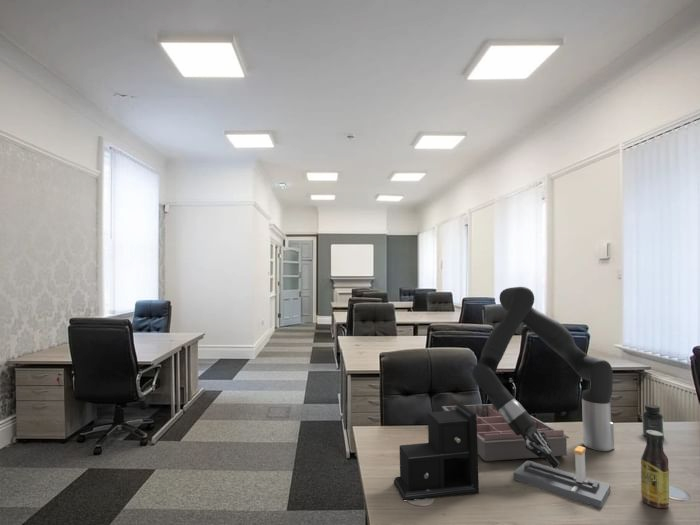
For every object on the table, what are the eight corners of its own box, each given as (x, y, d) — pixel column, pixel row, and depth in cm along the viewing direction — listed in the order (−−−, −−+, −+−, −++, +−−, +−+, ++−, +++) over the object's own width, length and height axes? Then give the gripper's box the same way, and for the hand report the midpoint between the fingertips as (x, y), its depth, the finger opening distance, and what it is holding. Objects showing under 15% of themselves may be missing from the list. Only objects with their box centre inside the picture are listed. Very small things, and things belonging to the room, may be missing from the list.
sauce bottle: (636, 498, 115) (633, 427, 116) (656, 497, 115) (653, 427, 116) (655, 511, 108) (652, 436, 109) (676, 509, 109) (673, 435, 110)
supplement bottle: (668, 438, 158) (667, 408, 159) (654, 440, 156) (653, 409, 157) (652, 432, 165) (650, 403, 165) (638, 433, 163) (637, 404, 164)
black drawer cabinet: (403, 502, 113) (402, 418, 114) (393, 483, 124) (392, 406, 125) (480, 494, 117) (478, 413, 118) (463, 477, 128) (462, 402, 129)
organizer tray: (509, 421, 179) (509, 398, 180) (570, 460, 140) (569, 431, 140) (441, 424, 175) (441, 401, 175) (484, 466, 135) (483, 436, 136)
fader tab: (572, 484, 118) (571, 449, 119) (576, 479, 121) (575, 444, 122) (585, 488, 116) (584, 452, 116) (589, 483, 119) (588, 448, 119)
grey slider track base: (513, 478, 126) (513, 467, 126) (527, 466, 135) (527, 455, 135) (601, 508, 110) (600, 495, 110) (610, 491, 118) (610, 479, 118)
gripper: (516, 415, 125) (559, 467, 116) (531, 405, 135) (572, 453, 126) (500, 428, 129) (541, 479, 120) (515, 418, 138) (554, 465, 129)
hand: (557, 466), depth 123 cm, fingers closed
